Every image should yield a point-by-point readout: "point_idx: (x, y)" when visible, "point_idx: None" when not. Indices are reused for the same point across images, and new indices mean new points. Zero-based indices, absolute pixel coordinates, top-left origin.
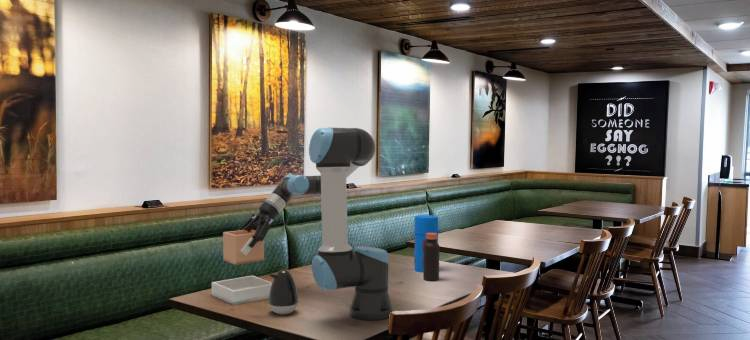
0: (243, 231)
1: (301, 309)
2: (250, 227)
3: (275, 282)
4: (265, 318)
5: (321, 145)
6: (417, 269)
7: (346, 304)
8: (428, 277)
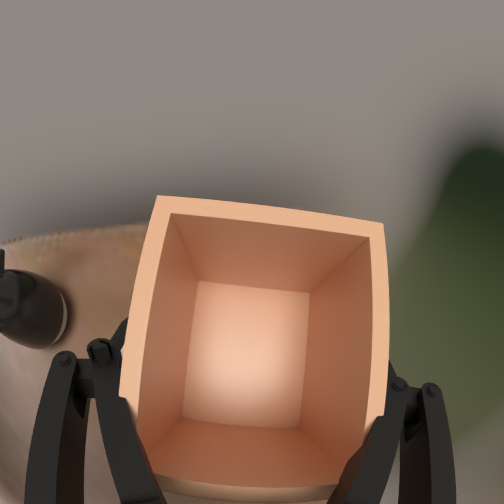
0: (361, 416)
1: (40, 358)
2: (342, 486)
3: (5, 269)
4: (54, 261)
5: None
6: None
7: (17, 437)
8: None
